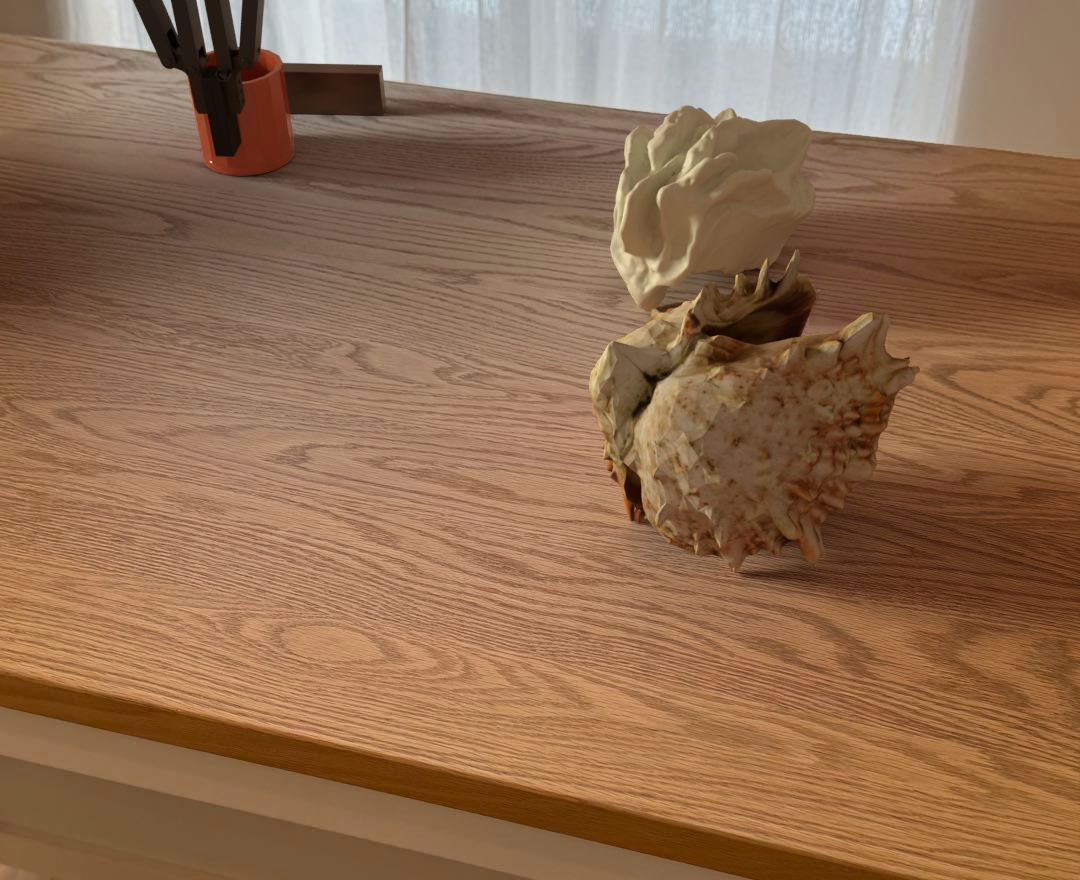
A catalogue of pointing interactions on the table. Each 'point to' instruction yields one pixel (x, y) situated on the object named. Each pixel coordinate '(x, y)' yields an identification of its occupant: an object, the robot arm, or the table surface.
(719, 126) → the wavy plaster lump
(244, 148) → the cup
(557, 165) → the table surface
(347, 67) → the side rail
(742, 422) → the seashell
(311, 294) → the table surface
